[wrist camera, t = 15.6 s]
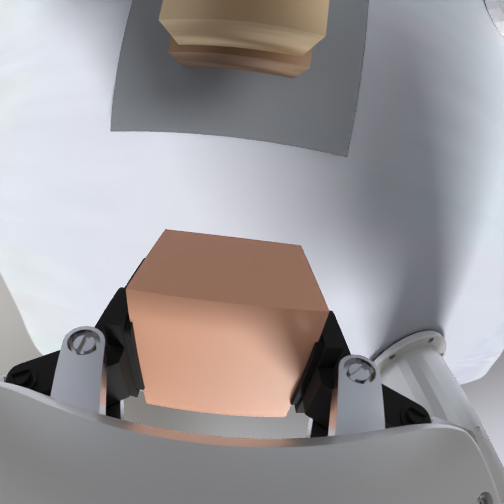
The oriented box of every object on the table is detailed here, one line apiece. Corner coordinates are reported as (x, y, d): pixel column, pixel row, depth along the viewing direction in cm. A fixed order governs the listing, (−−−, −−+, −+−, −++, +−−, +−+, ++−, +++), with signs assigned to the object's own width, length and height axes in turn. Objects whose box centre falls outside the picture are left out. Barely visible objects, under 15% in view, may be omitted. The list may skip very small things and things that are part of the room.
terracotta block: (300, 245, 10) (329, 311, 7) (275, 344, 12) (285, 416, 9) (165, 229, 10) (125, 289, 6) (167, 332, 12) (146, 403, 8)
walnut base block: (306, -7, 12) (322, -32, 8) (293, 78, 15) (309, 67, 11) (201, -20, 11) (193, -47, 7) (182, 66, 14) (167, 52, 10)
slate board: (364, -23, 11) (369, -28, 10) (341, 155, 18) (346, 157, 17) (156, -50, 9) (153, -55, 8) (116, 130, 16) (110, 131, 15)
